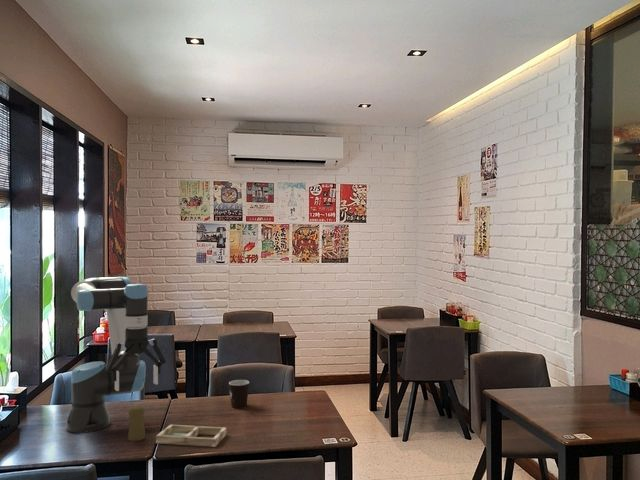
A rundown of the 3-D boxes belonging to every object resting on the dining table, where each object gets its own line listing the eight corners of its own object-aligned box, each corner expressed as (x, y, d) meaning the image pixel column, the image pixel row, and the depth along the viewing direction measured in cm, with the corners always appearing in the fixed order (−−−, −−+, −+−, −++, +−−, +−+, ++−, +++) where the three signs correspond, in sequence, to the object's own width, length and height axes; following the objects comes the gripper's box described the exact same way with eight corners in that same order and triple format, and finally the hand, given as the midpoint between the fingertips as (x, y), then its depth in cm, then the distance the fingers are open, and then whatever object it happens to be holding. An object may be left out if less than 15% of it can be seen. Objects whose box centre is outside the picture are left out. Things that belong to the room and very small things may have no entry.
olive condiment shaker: (135, 442, 180) (135, 410, 181) (123, 438, 184) (123, 407, 184) (149, 436, 186) (149, 405, 186) (138, 433, 189) (138, 403, 189)
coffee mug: (247, 409, 215) (247, 385, 215) (227, 409, 215) (226, 385, 215) (251, 400, 227) (251, 378, 227) (232, 400, 227) (232, 377, 227)
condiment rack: (215, 446, 176) (215, 439, 176) (155, 443, 180) (155, 435, 180) (226, 434, 187) (226, 427, 187) (170, 431, 191) (170, 424, 191)
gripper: (102, 332, 174) (102, 395, 174) (174, 325, 189) (174, 383, 189) (96, 329, 180) (97, 390, 180) (167, 322, 195) (167, 379, 195)
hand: (136, 387), depth 185 cm, fingers open, 13 cm apart
